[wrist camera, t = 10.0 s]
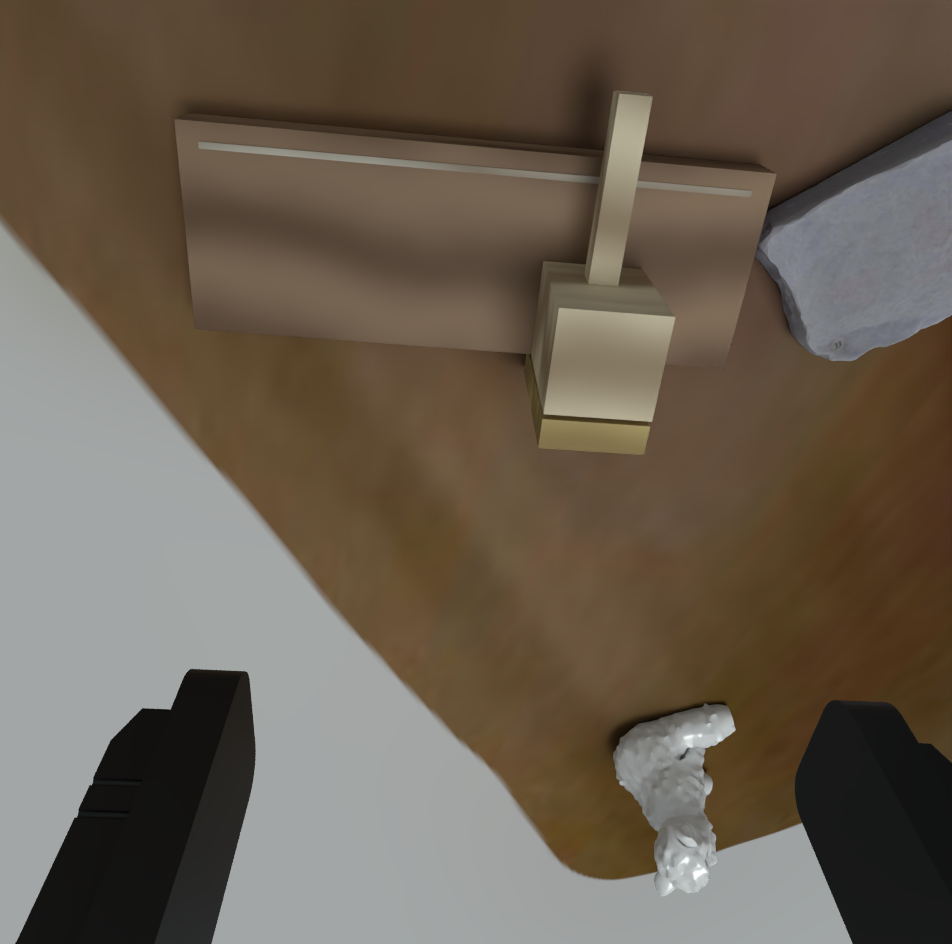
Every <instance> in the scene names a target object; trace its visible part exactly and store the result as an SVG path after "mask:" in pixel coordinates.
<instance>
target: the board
mask: <svg viewBox="0 0 952 944" xmlns="http://www.w3.org/2000/svg"><path fill="white" fill-rule="evenodd" d="M174 121H175V131H176V141H177V151H178V161H179V171H180V182H181V192H182V202H183V212H184V222H185V232H186V242H187V252H188V263H189V273H190V283H191V293H192V303H193V313H194V323H195V329H201V330H214V331H228V332H241V333H254V334H268V335H281V336H295V337H308V338H321V339H335V340H348V341H361V342H375V343H388V344H401V345H415V346H428V347H442V348H455V349H468V350H482V351H495V352H508V353H522V354H531V352H532V344H533V337H534V329H535V322H536V314H537V306H538V299H539V291H540V284H541V276H542V268H543V261H549V262H561V263H573V264H585V265H586V260H587V254H588V248H589V242H590V235H591V229H592V223H593V217H594V210H595V204H596V198H597V191H598V185H599V179H600V173H601V166H602V160H603V154H604V151H603V150H592V149H582V148H571V147H560V146H549V145H538V144H527V143H516V142H505V141H494V140H483V139H472V138H461V137H450V136H439V135H428V134H417V133H406V132H395V131H384V130H374V129H363V128H352V127H341V126H330V125H319V124H308V123H297V122H286V121H275V120H264V119H253V118H242V117H231V116H220V115H209V114H198V113H188V114H185V115H183V116H181V117H178V118H176V119H174ZM776 175H777V174H776V173H775V172H773V171H771V170H769V169H767V168H765V167H763V166H761V165H757V164H746V163H735V162H724V161H713V160H702V159H691V158H680V157H669V156H658V155H647V154H642V158H641V164H640V169H639V175H638V180H637V186H636V191H635V197H634V202H633V208H632V213H631V219H630V224H629V229H628V235H627V240H626V246H625V251H624V257H623V262H622V268H634V269H643V271H644V272H645V274H646V275H647V277H648V278H649V279H650V281H651V282H652V284H653V285H654V287H655V288H656V289H657V291H658V292H659V294H660V295H661V297H662V298H663V300H664V301H665V302H666V304H667V305H668V307H669V308H670V310H671V311H672V313H673V314H674V315H675V322H674V326H673V331H672V335H671V339H670V344H669V348H668V353H667V357H666V362H665V364H669V365H682V366H695V367H709V368H722V369H725V365H726V361H727V358H728V354H729V350H730V347H731V343H732V339H733V335H734V332H735V328H736V324H737V320H738V317H739V313H740V309H741V305H742V302H743V298H744V294H745V291H746V287H747V283H748V279H749V276H750V272H751V268H752V264H753V261H754V257H755V253H756V249H757V246H758V242H759V238H760V235H761V231H762V227H763V223H764V220H765V216H766V212H767V208H768V205H769V201H770V197H771V193H772V190H773V186H774V182H775V179H776Z"/></svg>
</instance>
